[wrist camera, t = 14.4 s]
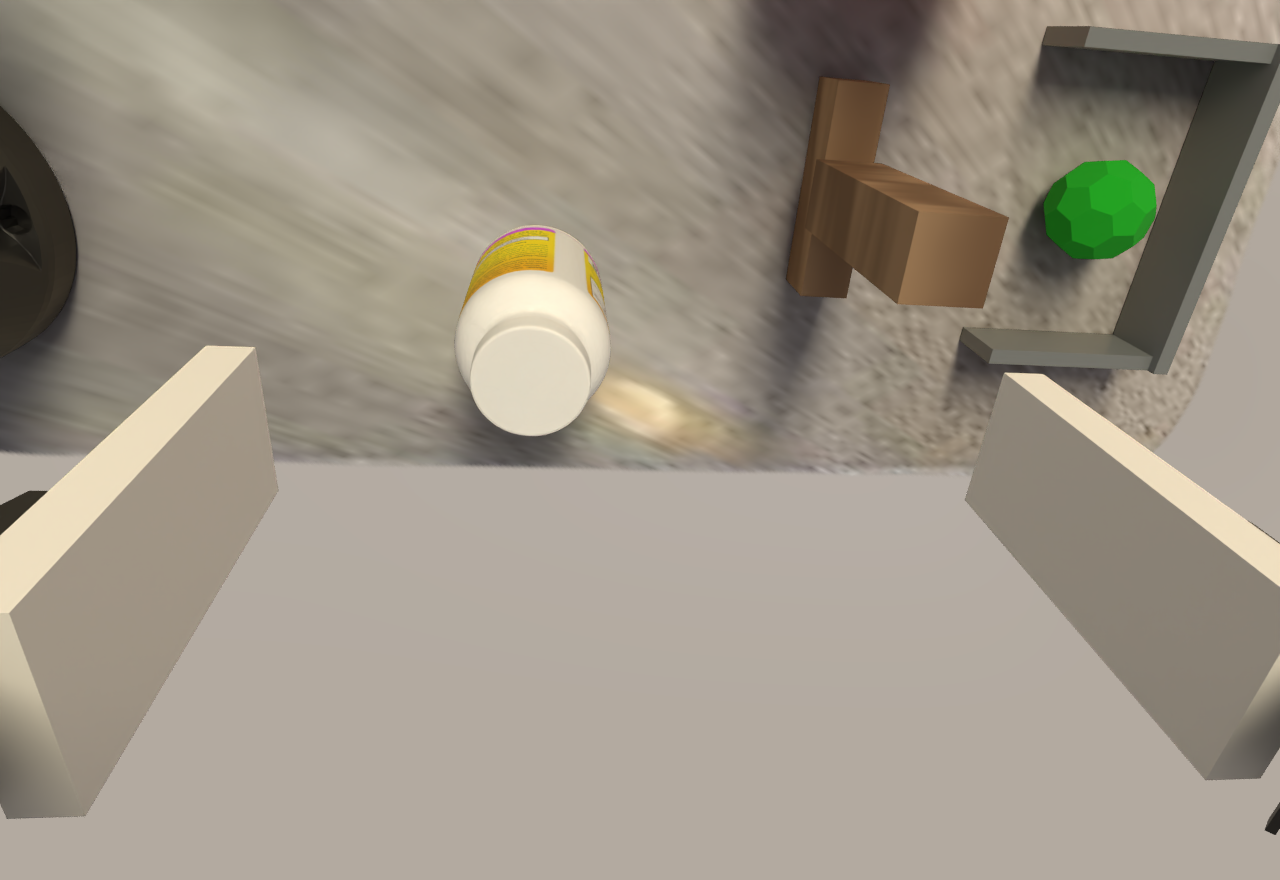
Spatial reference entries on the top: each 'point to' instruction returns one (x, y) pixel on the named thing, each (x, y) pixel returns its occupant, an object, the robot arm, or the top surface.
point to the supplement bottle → (533, 331)
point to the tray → (1167, 206)
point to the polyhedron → (1100, 209)
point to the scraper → (882, 215)
